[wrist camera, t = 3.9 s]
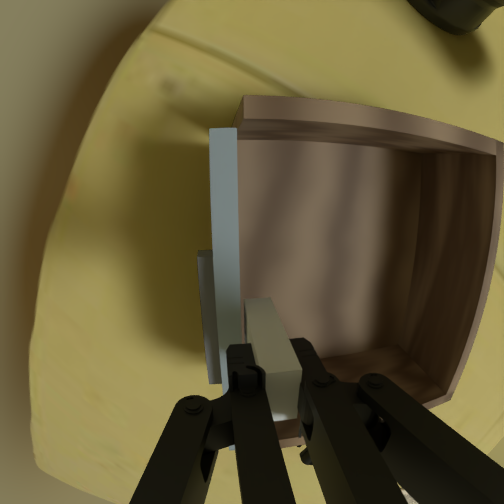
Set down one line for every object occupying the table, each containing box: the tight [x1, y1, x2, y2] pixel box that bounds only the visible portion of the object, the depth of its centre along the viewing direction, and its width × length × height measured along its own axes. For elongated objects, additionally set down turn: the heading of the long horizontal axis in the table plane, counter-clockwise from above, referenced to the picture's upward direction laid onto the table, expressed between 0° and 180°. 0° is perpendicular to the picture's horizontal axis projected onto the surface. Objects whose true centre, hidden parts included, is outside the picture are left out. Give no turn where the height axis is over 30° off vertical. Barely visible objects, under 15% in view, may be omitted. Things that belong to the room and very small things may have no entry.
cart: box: [231, 95, 504, 448], centre depth 23 cm, size 20×26×12 cm
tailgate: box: [197, 128, 242, 450], centre depth 20 cm, size 2×20×11 cm, turn 1°
